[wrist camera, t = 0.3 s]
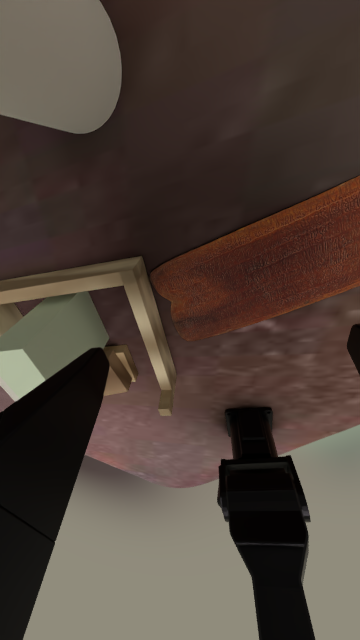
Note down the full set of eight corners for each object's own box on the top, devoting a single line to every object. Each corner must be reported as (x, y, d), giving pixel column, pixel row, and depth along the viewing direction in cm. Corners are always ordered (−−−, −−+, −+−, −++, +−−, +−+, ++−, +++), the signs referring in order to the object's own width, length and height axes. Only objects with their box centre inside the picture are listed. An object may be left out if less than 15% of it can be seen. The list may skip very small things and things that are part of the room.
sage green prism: (109, 337, 27) (69, 411, 19) (83, 340, 28) (33, 413, 20) (85, 285, 24) (22, 349, 15) (55, 290, 24) (-21, 353, 16)
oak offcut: (139, 369, 31) (135, 381, 29) (92, 373, 32) (86, 384, 31) (128, 341, 28) (123, 352, 27) (77, 346, 30) (69, 357, 28)
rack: (176, 374, 30) (171, 415, 25) (60, 383, 33) (35, 421, 28) (141, 255, 21) (123, 282, 16) (-11, 282, 24) (-65, 312, 19)
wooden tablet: (186, 340, 28) (185, 349, 26) (144, 268, 23) (140, 275, 21) (468, 250, 20) (489, 257, 18) (496, 109, 15) (527, 103, 13)
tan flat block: (132, 378, 29) (127, 391, 27) (93, 386, 31) (86, 398, 29) (113, 349, 27) (106, 361, 25) (71, 359, 28) (63, 371, 27)
